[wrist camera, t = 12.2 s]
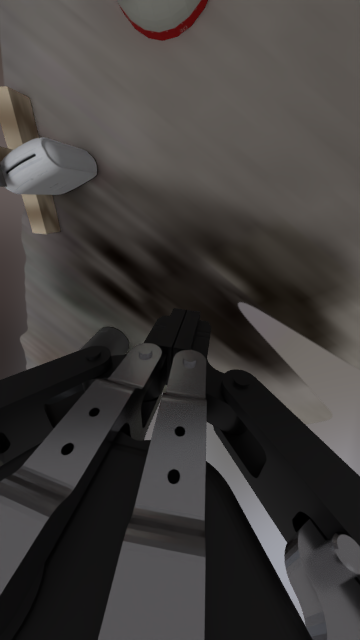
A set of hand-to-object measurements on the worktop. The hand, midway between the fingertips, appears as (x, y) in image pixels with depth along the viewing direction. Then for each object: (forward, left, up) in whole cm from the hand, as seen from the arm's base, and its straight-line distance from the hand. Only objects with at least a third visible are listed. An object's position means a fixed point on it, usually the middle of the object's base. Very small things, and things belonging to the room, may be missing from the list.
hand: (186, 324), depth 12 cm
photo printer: (+9, +27, -31) cm, 42 cm away
